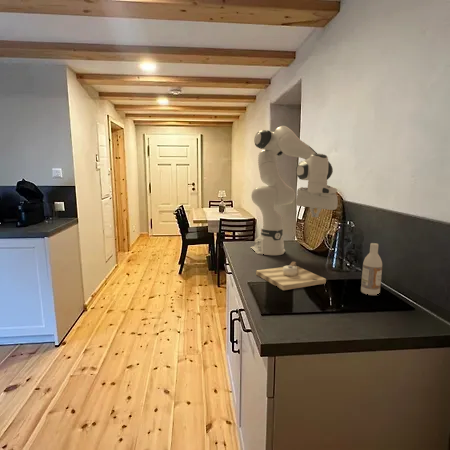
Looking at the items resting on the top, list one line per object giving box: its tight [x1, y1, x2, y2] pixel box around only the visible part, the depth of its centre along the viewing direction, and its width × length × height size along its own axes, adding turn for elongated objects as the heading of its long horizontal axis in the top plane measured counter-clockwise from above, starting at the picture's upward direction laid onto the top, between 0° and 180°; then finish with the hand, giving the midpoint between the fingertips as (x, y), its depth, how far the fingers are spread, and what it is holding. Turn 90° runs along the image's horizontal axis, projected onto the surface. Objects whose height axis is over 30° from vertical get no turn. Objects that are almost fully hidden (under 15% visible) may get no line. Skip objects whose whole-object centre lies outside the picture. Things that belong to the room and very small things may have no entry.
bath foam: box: [360, 242, 383, 296], centre depth 130 cm, size 7×7×20 cm
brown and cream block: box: [282, 261, 297, 276], centre depth 149 cm, size 13×6×4 cm, turn 158°
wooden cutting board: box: [255, 265, 327, 291], centre depth 147 cm, size 22×22×2 cm
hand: (314, 217), depth 159 cm, fingers closed
